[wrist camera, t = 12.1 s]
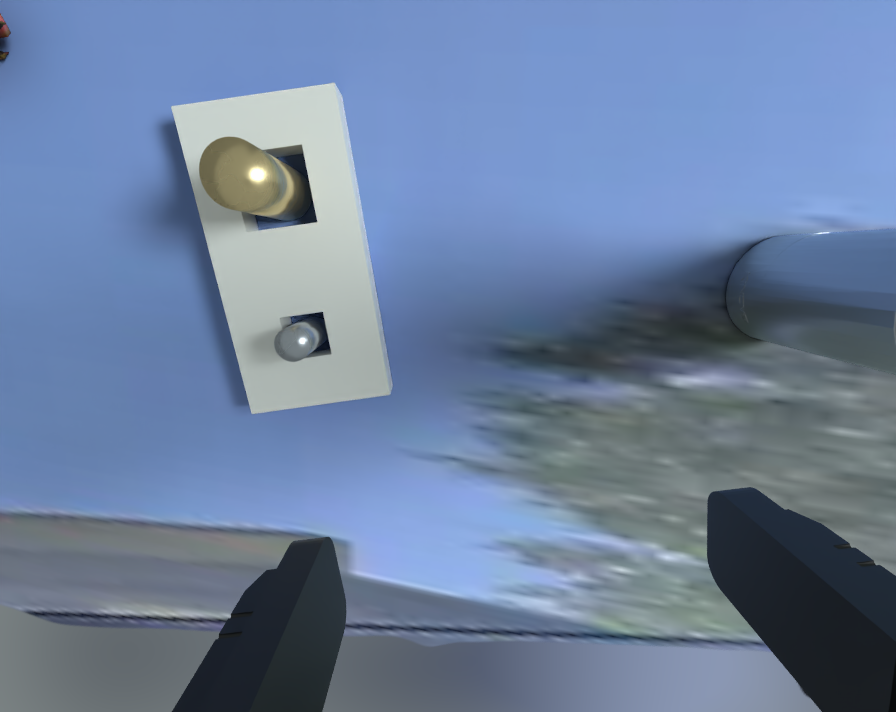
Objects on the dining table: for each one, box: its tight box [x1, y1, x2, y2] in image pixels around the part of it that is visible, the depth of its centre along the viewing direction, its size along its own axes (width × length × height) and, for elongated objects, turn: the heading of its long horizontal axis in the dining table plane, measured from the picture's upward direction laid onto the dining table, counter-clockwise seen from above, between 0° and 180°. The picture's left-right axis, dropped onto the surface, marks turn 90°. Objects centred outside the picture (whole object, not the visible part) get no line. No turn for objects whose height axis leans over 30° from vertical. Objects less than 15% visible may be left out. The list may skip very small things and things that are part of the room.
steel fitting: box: [274, 316, 328, 362], centre depth 34 cm, size 3×3×6 cm
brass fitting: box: [199, 136, 312, 221], centre depth 30 cm, size 4×4×9 cm
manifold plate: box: [171, 83, 393, 414], centre depth 35 cm, size 12×24×2 cm, turn 8°
